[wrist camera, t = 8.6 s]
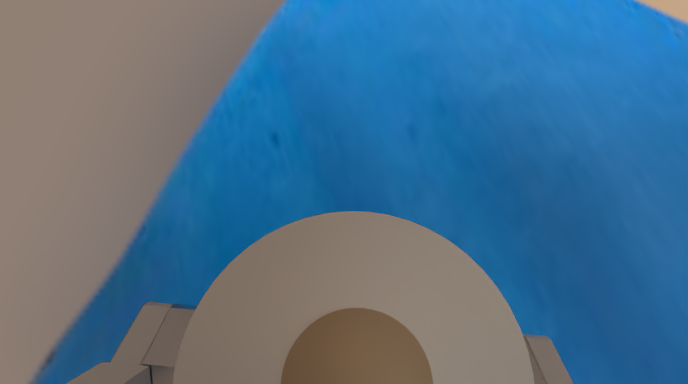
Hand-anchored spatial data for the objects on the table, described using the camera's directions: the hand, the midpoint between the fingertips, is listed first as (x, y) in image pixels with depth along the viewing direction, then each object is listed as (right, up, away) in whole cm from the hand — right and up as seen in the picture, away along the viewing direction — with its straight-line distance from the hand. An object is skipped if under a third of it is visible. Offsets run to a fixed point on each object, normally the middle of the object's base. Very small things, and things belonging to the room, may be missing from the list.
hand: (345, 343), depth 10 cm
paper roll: (0, -2, +4) cm, 5 cm away
